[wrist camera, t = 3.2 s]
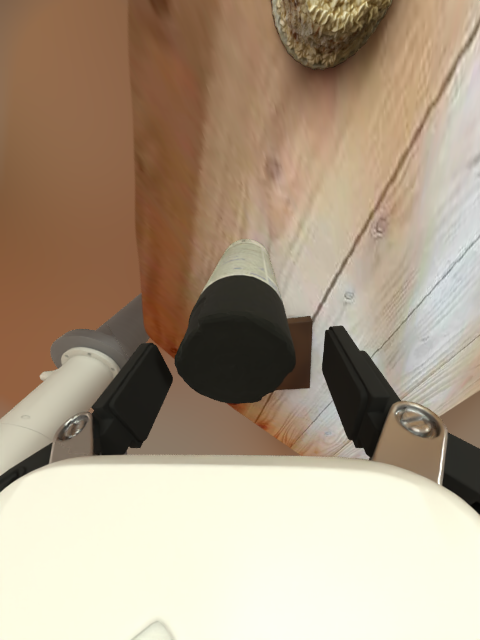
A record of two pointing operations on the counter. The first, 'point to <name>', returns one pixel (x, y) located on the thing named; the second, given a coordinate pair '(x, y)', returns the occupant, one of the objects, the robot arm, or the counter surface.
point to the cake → (326, 28)
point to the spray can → (238, 330)
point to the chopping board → (300, 354)
